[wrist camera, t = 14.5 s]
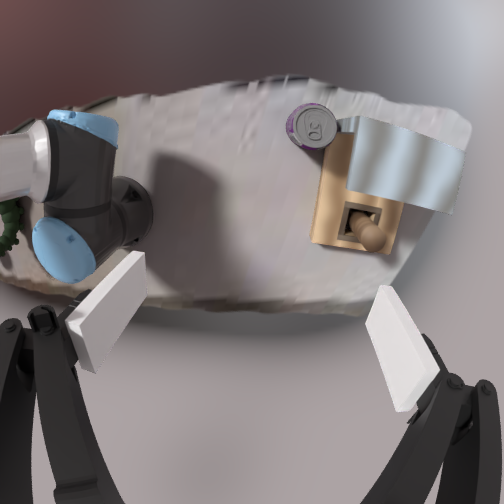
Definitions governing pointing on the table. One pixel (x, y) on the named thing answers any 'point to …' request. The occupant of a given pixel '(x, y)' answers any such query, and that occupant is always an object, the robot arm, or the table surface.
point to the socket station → (381, 179)
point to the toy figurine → (10, 224)
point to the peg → (366, 230)
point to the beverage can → (312, 126)
